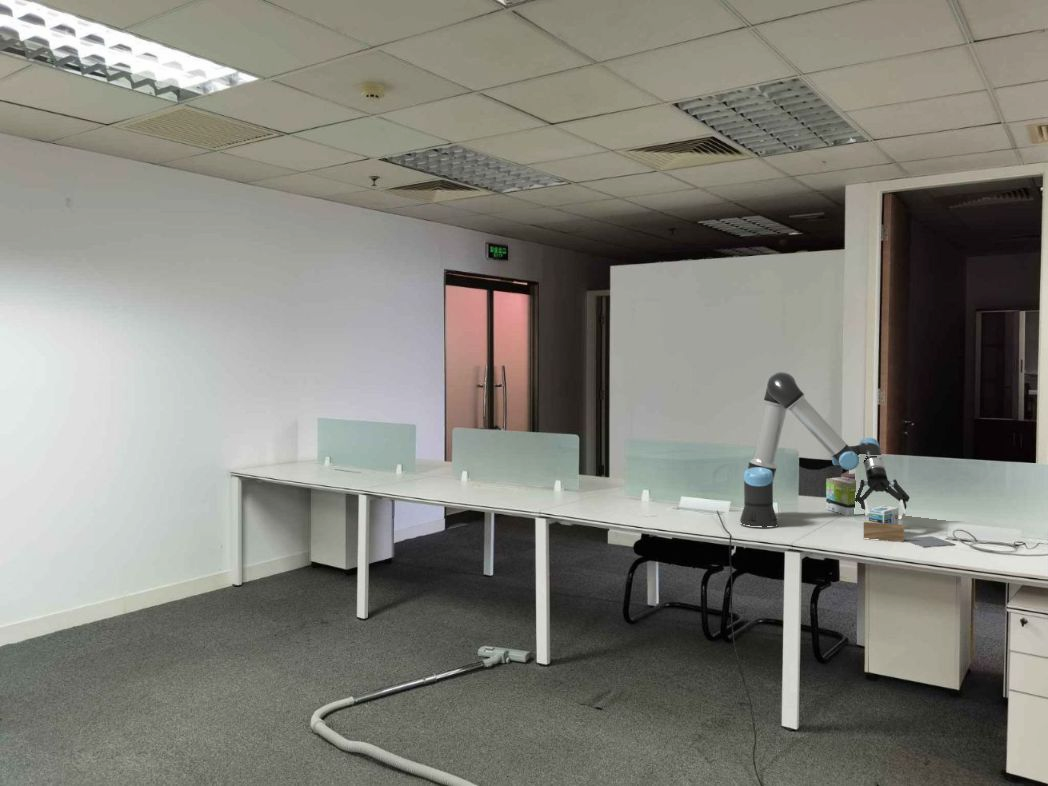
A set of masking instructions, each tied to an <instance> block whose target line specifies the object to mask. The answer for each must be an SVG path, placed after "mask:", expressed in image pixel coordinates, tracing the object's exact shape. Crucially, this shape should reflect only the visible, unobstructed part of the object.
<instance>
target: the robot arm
mask: <svg viewBox="0 0 1048 786" xmlns="http://www.w3.org/2000/svg"><path fill="white" fill-rule="evenodd" d="M766 385H767V386H766V389H765V395H764V397H763V401H764V404H765V405H766V406H765V411H764V414H763V419H762V423H761V427H760V430H759V434H758V440H757V442H756V443H757V444H756V447H755V453H754V456H753V458H752V459H750V460H749V462H748V466H747V469H746V470H745V471H744V472H743V485H744V486H743V491H744V492H743V499H744V500H743V501H744V504H743V505H744V506H743V509H742V512H741V515H740V519H739V520H740V521H739V522H741V523H742V524H745V525H750V526H762V527H767V526H776V525H777V524H778V518H777V515H776V511H775V509H774V481H775V475H776V471H777V465H776V464H775V461H776V460H775V459H776V456H777V453H778V447H779V443H780V439H781V435H782V430H783V426H784V422H785V420H786V419H785V418H786V414H787V411H790V412H791V413H792V414H793V415H794V416H795V417H796V418H797V419H798V420H799V423H801V424H803V426H804V427H805V428H806V430H808V431H809V432H810V434H811V435H812V436H813V437H814V438H815V439H816V440H817V441H818V443H820V444H821V445H822V447H823V448H824V449H825V450H826V451H827V452H828V453H829V454H830V456H831V461H832V465H833V466H835V467H836V466H840V467H841V468H842V469H843V470H846V471H853V470H855V469H856V468H858V466H859V464H860V463H859V457H858V455H859V454H866V455H882V456H883V454H882V451H881V447H880V445H879V441H878V440H877V439H875V438H873V437H865V439H861V440H860V442H859V444H858V445H848V444H847V443H846V441H845V440H844V439H843V438H842V437H841V436H840V435H839V433H837V432H836V431H835V430H834V429H833V427H832V426H831V425H830V424H829V423H828V422H827V421H826V420H825V419H824V418H823V417H822V415H821V414H820V413H819V412H818V411H817V410H816V409H815V408H814V407H813V406H812V404H811V403H809V401H808V400H807V399H806V398H805V394H804V392H803V391H802V390H801V389H800V388H799V386H798V385H797V382H796V379H795V378H794V377H793V376H792V374H789V373H788V372H787V373H786V372H783V371H780V372H776V373H774V374H772V375H771V376H770V377H769V379H768V381H767V384H766ZM866 457H867V458H865V459H866V460H864V462H863V466H864V471H865V474H866V480H864V479H862V480H861V482H860V488H859V490H858V493H857V495H856V498H855V501H856V502H857V501H858V502H859V503H860V504H861V508H862V509H864V510H865V514H864V515H865V518H869V506H868V502H867V498H869V496H870V495H871V494H872V493H873V492H876V493H878V492H883V493H884V492H885V493H887V494H889V495H890V496H892V497H893V498H894V499H896V500H897V501H898V502H899V503H898V504H899V508H900V509H899V510H900V513H901V516H902V518H905V517H906V515H907V514H906V513H907V512H906V509H907V507H908V506H907V503H908V502H909V500H910V495H909V494H908V493H907V492H906V491H905V490H904V489H903V488H902V487H901V486H900V484H899V483H898V480H897V479H895V478H894V479H893V480H889V478H888V476H887V470H886V468H885V467H886V466H885V464H884V460H883V461H882V459H883V458H882V459H881V458H877V456H866ZM867 459H868V460H867ZM864 486H866V487H867V486H868V489H866V492H865V494H864V495H863V496H862V497H860V495H861V492H862V490H863V487H864ZM865 499H866V500H865ZM777 526H778V525H777ZM777 526H776V527H777Z"/></svg>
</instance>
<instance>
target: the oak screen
mask: <svg viewBox="0 0 1048 786" xmlns="http://www.w3.org/2000/svg"><path fill="white" fill-rule="evenodd" d="M864 538H869V539H879V540H878V541H881V540H888V541H887V542H895V541H903V542H902V543H905V541H904V538H905V524H902V523H901V524H900V523H899V524H888V523H872V522H869V521H863V539H864Z"/></svg>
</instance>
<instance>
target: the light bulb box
mask: <svg viewBox="0 0 1048 786" xmlns="http://www.w3.org/2000/svg"><path fill="white" fill-rule="evenodd" d="M899 508H900V507H895V506H894V507H893V506H890V505H880V506H876V507H872V508H868V510H869V516H868V522H872V523H888V524H900V523H899V522H900V521H899V518H900V517H899V513H900V511H899V510H900V509H899Z"/></svg>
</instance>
